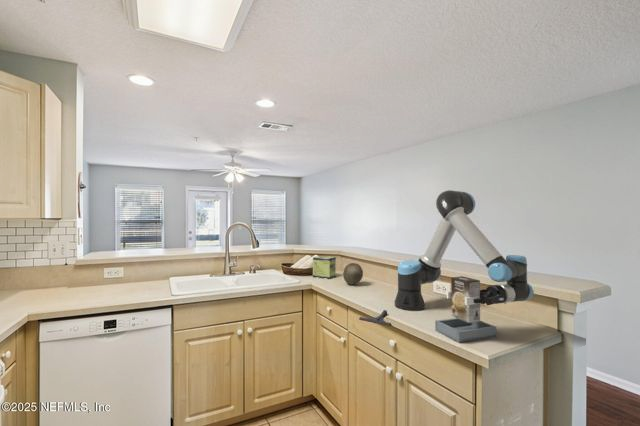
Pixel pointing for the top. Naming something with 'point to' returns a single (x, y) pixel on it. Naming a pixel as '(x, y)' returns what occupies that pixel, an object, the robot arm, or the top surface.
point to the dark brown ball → (353, 273)
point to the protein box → (324, 267)
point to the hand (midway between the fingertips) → (456, 298)
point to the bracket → (377, 319)
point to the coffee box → (460, 291)
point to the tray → (465, 330)
